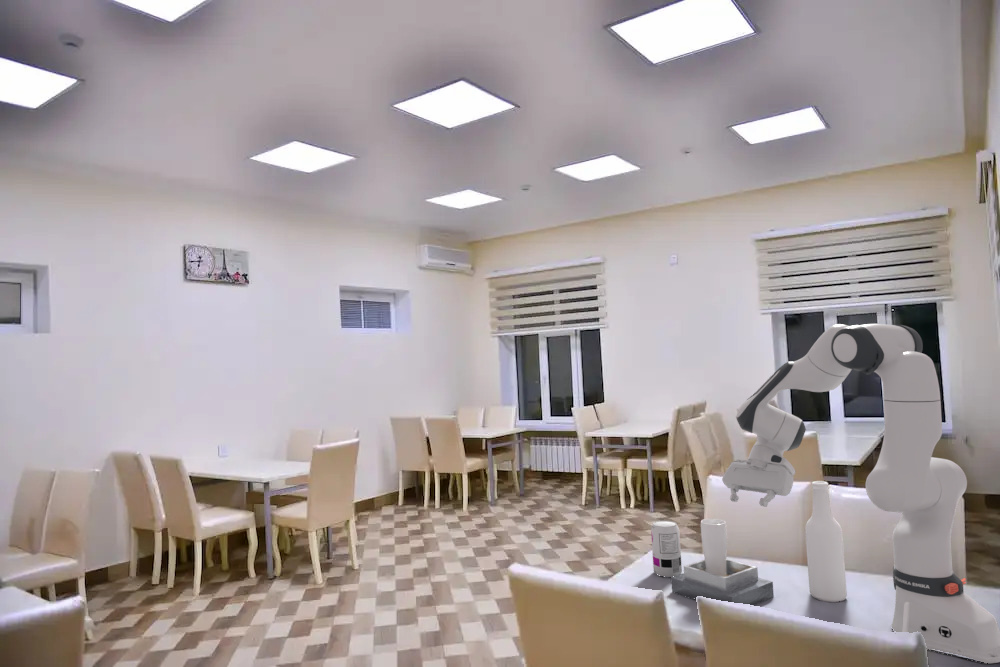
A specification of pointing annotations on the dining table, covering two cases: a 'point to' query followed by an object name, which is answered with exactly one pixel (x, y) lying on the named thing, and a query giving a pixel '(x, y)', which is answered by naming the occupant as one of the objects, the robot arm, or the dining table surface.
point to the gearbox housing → (723, 583)
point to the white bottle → (825, 549)
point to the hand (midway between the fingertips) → (747, 503)
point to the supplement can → (666, 548)
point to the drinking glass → (714, 545)
